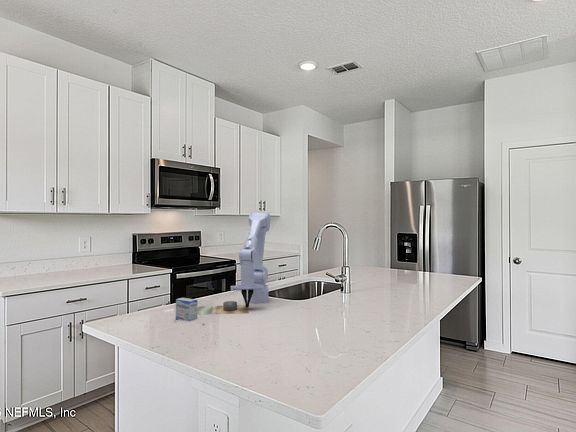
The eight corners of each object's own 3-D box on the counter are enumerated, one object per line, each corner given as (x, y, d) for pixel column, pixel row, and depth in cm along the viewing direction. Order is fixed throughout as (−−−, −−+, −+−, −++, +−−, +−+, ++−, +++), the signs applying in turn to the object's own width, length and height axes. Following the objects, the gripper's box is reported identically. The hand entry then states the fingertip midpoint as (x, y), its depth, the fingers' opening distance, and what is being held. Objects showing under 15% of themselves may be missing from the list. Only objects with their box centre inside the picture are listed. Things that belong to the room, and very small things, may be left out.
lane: (248, 307, 174) (248, 305, 174) (248, 315, 160) (248, 313, 160) (186, 308, 171) (186, 306, 171) (180, 317, 157) (180, 314, 157)
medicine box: (175, 320, 152) (175, 299, 152) (183, 318, 156) (183, 297, 156) (190, 323, 148) (190, 301, 148) (197, 320, 152) (197, 299, 152)
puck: (237, 307, 169) (237, 300, 169) (236, 311, 163) (236, 304, 163) (223, 307, 169) (223, 301, 169) (222, 311, 163) (222, 304, 163)
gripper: (230, 277, 162) (230, 309, 162) (264, 277, 164) (264, 308, 164) (231, 275, 169) (231, 305, 169) (263, 274, 171) (263, 304, 171)
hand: (247, 306), depth 167 cm, fingers closed
